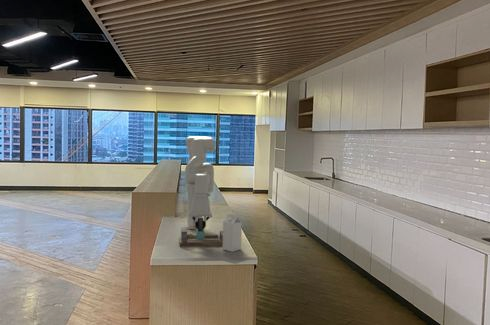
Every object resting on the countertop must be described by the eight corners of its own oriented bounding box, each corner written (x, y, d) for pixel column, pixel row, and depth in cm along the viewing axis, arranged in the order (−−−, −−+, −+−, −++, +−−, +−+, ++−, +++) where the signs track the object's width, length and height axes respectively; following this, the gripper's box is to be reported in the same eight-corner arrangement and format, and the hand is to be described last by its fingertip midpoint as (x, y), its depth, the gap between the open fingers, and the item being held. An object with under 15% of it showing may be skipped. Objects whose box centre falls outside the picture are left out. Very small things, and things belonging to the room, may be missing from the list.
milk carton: (231, 247, 242) (231, 212, 240) (241, 249, 237) (242, 214, 236) (222, 249, 236) (223, 214, 235) (232, 252, 232) (233, 216, 231)
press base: (179, 241, 252) (179, 227, 251) (222, 240, 256) (223, 226, 255) (179, 246, 240) (179, 231, 240) (225, 245, 244) (225, 231, 244)
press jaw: (196, 237, 251) (196, 217, 250) (203, 237, 251) (203, 217, 251) (197, 240, 244) (197, 219, 243) (204, 240, 245) (204, 219, 244)
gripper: (215, 195, 251) (214, 226, 252) (186, 194, 248) (185, 227, 250) (216, 196, 244) (215, 229, 245) (186, 196, 241) (185, 230, 242)
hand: (200, 228), depth 247 cm, fingers closed on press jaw, 3 cm apart
